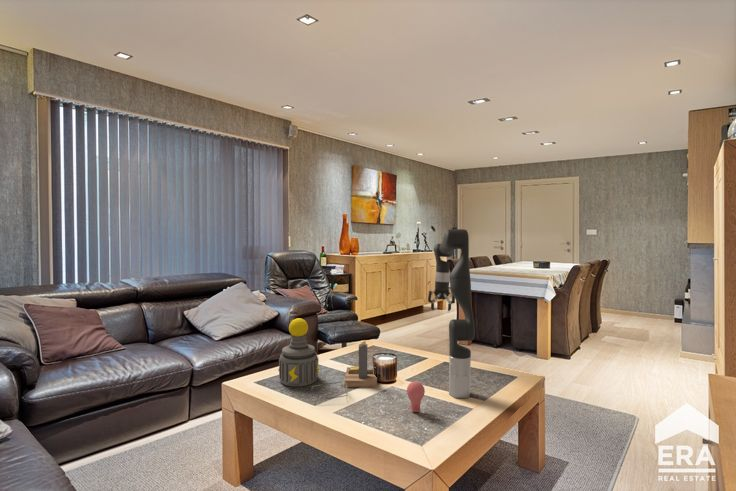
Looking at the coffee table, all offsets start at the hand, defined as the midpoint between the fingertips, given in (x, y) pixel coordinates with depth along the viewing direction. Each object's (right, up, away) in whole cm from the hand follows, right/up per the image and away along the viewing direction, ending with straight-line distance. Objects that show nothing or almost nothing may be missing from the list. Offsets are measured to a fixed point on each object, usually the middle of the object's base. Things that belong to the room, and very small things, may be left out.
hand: (440, 310), depth 232 cm
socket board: (-43, -30, -26) cm, 58 cm away
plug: (-42, -27, -30) cm, 58 cm away
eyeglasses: (-56, -31, -44) cm, 78 cm away
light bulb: (-20, -32, -60) cm, 71 cm away
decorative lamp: (-73, -30, -26) cm, 83 cm away
